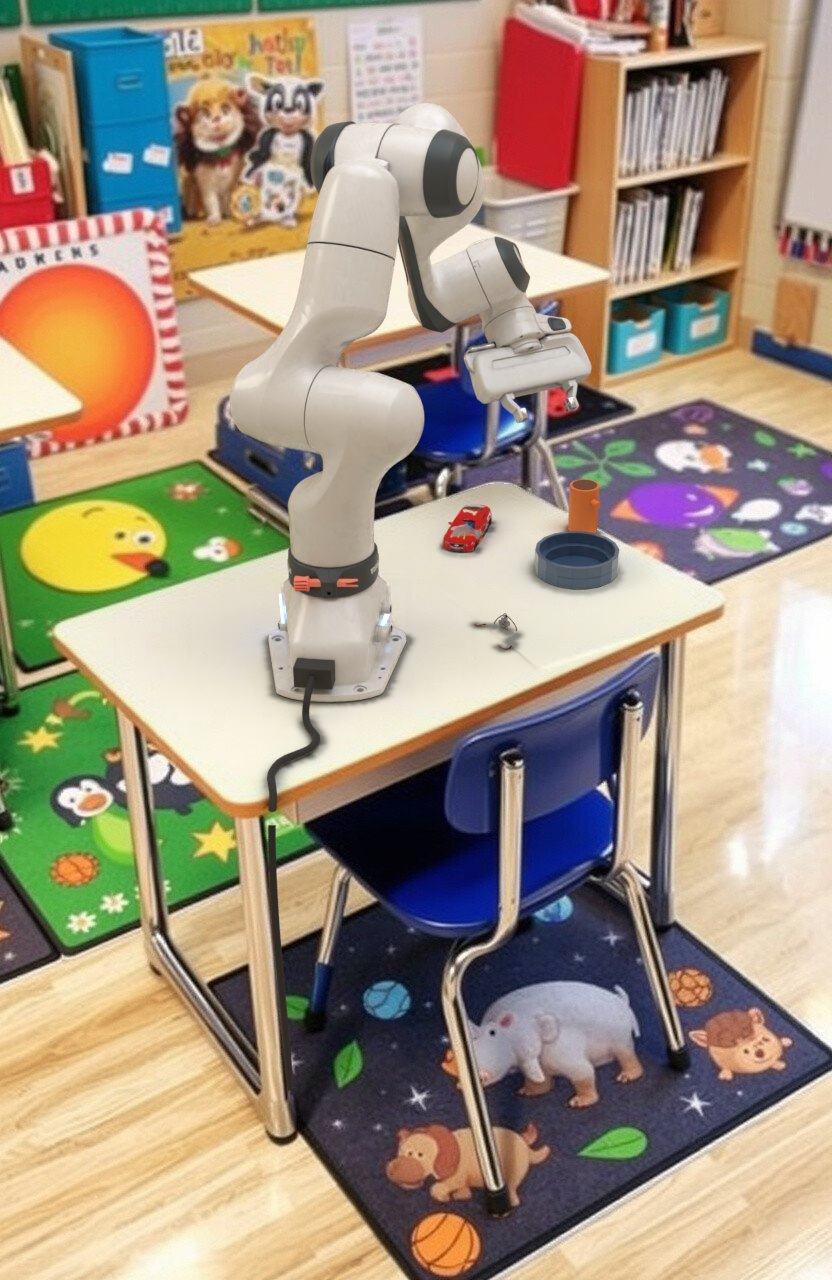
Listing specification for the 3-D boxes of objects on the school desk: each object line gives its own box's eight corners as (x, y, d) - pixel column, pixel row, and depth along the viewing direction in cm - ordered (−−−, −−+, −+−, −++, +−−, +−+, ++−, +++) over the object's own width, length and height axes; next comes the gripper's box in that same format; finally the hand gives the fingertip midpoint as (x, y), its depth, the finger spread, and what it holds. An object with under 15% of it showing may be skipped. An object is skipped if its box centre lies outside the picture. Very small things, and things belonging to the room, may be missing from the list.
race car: (472, 559, 212) (472, 535, 210) (438, 554, 213) (438, 530, 211) (497, 522, 222) (497, 499, 220) (464, 518, 224) (464, 495, 222)
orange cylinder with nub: (562, 529, 220) (563, 482, 216) (586, 522, 222) (588, 476, 218) (584, 544, 215) (586, 496, 211) (608, 537, 217) (611, 490, 213)
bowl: (622, 592, 202) (623, 568, 200) (536, 593, 202) (537, 568, 200) (614, 554, 212) (615, 530, 210) (532, 554, 213) (533, 531, 210)
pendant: (528, 641, 190) (529, 624, 189) (503, 651, 188) (503, 634, 187) (492, 618, 196) (492, 601, 194) (467, 627, 194) (467, 610, 192)
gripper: (467, 339, 214) (499, 419, 212) (577, 317, 223) (610, 394, 220) (452, 358, 220) (484, 436, 218) (560, 337, 228) (592, 412, 226)
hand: (548, 415), depth 219 cm, fingers open, 8 cm apart
